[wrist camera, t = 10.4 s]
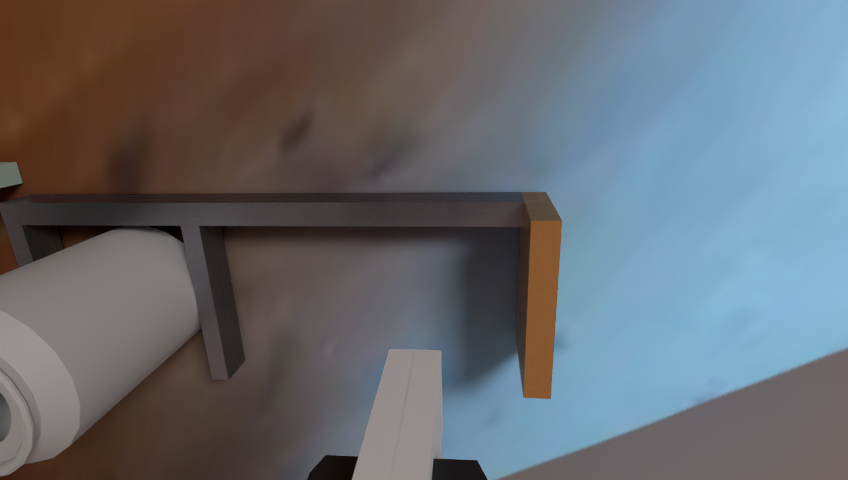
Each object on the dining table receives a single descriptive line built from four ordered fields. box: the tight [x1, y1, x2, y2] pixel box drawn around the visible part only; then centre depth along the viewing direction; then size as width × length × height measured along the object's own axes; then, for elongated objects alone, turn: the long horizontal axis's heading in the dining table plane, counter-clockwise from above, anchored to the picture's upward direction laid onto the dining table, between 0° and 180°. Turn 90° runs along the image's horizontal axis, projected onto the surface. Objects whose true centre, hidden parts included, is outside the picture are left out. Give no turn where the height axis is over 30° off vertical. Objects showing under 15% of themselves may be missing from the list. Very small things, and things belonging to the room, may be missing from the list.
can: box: [0, 226, 201, 476], centre depth 22 cm, size 8×8×12 cm
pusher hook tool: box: [0, 192, 562, 399], centre depth 24 cm, size 28×10×5 cm, turn 92°
